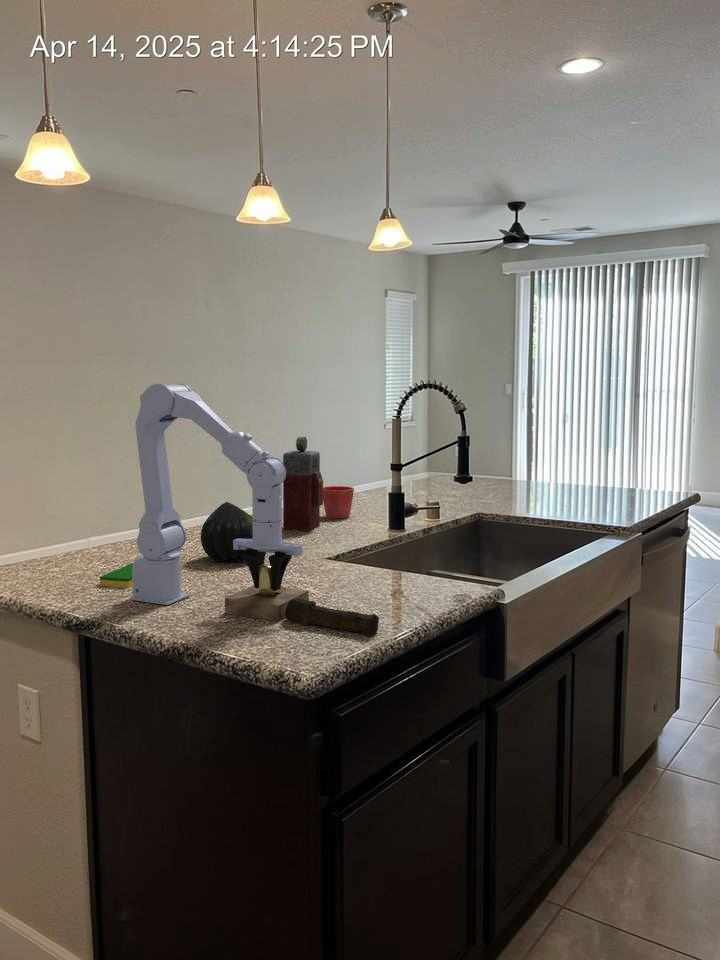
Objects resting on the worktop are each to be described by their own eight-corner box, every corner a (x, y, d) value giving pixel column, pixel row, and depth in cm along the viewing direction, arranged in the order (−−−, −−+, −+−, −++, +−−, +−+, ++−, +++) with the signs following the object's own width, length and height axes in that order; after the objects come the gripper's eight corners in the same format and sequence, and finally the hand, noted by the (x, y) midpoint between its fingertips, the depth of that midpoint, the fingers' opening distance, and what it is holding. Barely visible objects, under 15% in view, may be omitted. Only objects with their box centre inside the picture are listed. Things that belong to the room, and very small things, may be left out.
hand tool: (380, 633, 143) (381, 608, 142) (369, 639, 139) (370, 614, 139) (294, 617, 152) (294, 594, 152) (281, 622, 149) (281, 598, 148)
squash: (244, 547, 188) (256, 494, 197) (185, 546, 191) (199, 494, 200) (260, 575, 200) (271, 524, 208) (205, 574, 203) (217, 524, 211)
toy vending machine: (318, 531, 237) (318, 438, 234) (282, 529, 240) (282, 437, 237) (326, 526, 246) (327, 436, 242) (292, 524, 249) (292, 435, 245)
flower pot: (316, 515, 266) (316, 486, 265) (346, 513, 271) (346, 485, 270) (328, 520, 257) (328, 490, 255) (359, 518, 261) (359, 489, 260)
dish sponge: (99, 587, 173) (98, 576, 173) (132, 573, 187) (131, 562, 186) (128, 589, 172) (127, 578, 171) (159, 574, 185) (159, 564, 185)
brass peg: (255, 606, 156) (255, 566, 155) (265, 602, 158) (265, 563, 157) (268, 608, 154) (268, 568, 153) (278, 605, 157) (278, 565, 156)
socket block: (225, 613, 154) (224, 598, 153) (257, 598, 164) (257, 583, 164) (279, 621, 149) (278, 605, 148) (308, 605, 160) (308, 590, 159)
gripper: (224, 520, 154) (225, 588, 155) (289, 526, 148) (290, 597, 150) (243, 515, 160) (244, 580, 162) (307, 520, 154) (307, 588, 156)
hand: (267, 588), depth 156 cm, fingers open, 3 cm apart
